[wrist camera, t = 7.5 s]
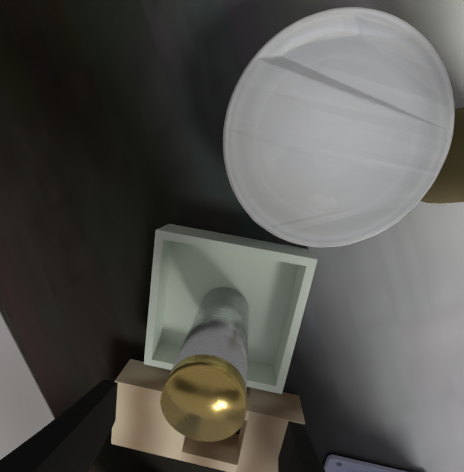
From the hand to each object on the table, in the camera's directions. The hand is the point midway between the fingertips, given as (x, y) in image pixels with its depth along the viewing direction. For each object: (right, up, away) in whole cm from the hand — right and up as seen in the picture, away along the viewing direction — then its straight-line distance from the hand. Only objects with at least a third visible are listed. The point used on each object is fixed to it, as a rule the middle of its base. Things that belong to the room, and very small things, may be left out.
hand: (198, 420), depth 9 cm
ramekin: (+7, +14, +7) cm, 17 cm away
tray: (+1, +2, +10) cm, 10 cm away
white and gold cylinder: (+1, +1, +9) cm, 10 cm away
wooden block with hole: (-1, -9, +12) cm, 15 cm away
